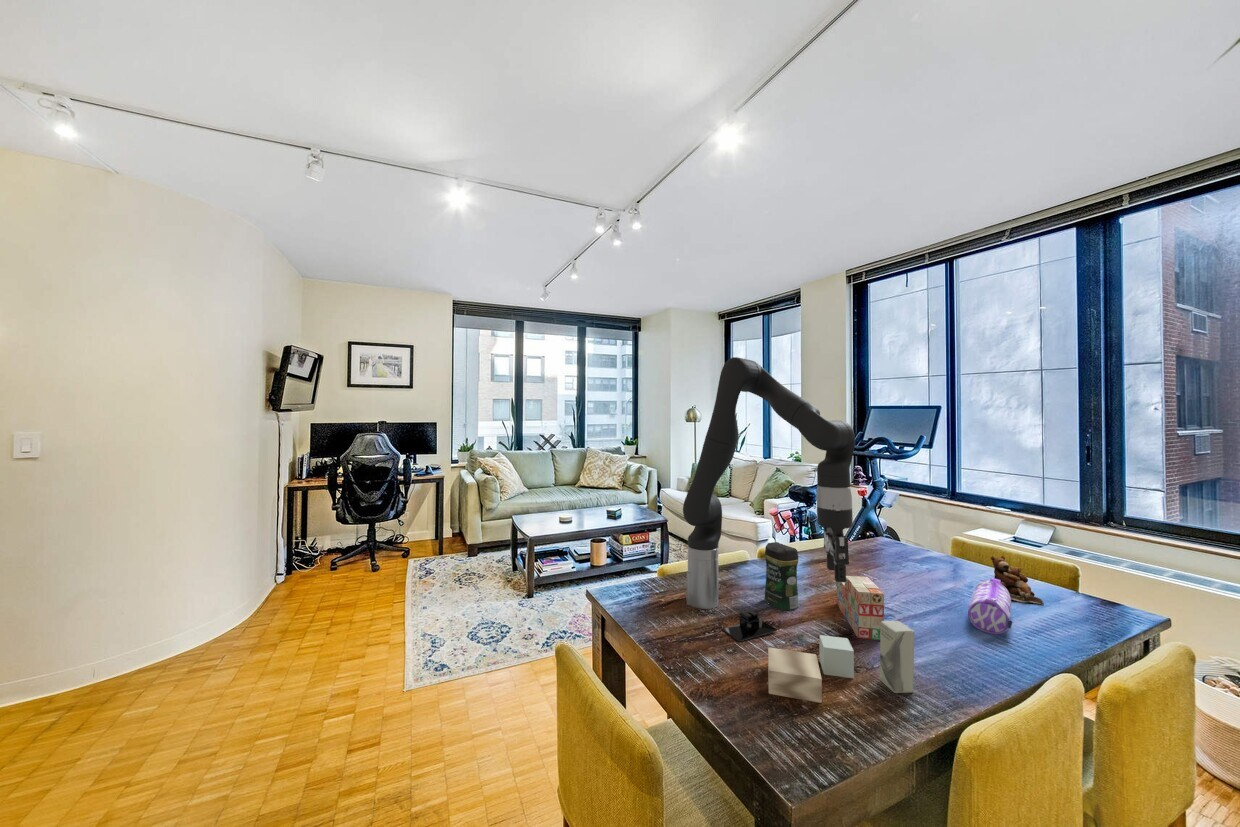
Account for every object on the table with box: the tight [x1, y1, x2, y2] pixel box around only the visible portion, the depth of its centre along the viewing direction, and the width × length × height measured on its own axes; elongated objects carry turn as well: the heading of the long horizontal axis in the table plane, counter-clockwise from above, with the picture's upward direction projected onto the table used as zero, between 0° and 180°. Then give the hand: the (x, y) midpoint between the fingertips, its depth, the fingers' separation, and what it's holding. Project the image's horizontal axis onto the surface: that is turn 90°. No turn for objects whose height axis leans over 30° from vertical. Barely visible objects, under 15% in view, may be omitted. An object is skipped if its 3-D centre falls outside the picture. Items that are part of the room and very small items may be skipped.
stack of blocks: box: [835, 575, 885, 641], centre depth 127 cm, size 21×6×12 cm, turn 168°
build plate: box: [722, 609, 778, 642], centre depth 120 cm, size 12×7×5 cm, turn 114°
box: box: [879, 620, 915, 694], centre depth 95 cm, size 5×4×13 cm
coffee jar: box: [764, 541, 799, 611], centre depth 137 cm, size 10×8×19 cm
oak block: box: [767, 647, 823, 703], centre depth 96 cm, size 10×10×5 cm
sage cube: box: [819, 634, 855, 679], centre depth 102 cm, size 6×6×6 cm
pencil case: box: [967, 577, 1013, 635], centre depth 127 cm, size 22×9×10 cm, turn 140°
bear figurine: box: [990, 555, 1045, 606], centre depth 146 cm, size 14×15×12 cm
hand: (836, 575), depth 106 cm, fingers open, 8 cm apart
